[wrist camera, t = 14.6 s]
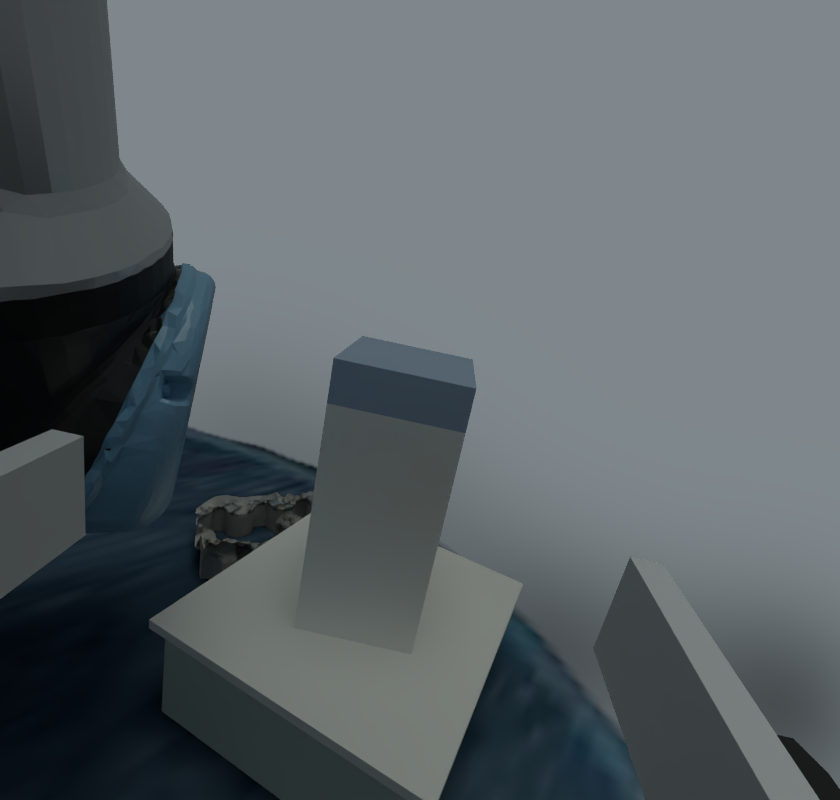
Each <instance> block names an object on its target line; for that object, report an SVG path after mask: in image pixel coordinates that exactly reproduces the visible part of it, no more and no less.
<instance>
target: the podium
mask: <svg viewBox="0 0 840 800" xmlns="http://www.w3.org/2000/svg"><path fill="white" fill-rule="evenodd" d="M310 516H311V513H310V514H308V515H307V516H305V517H304V518H302V519H301V520H299V521H298V522H296V523H295V524H293V525H292V526H290V527H289V528H287V529H286V530H284V531H283V532H281V533H280V534H278V535H277V536H275V537H274V538H272V539H271V540H269V541H268V542H266V543H265V544H263V545H262V546H260V547H258V548H257V549H255V550H254V551H252V552H251V553H249V554H248V555H246V556H245V557H243V558H242V559H240V560H239V561H237V562H236V563H234V564H233V565H231V566H230V567H228V568H227V569H225V570H224V571H222V572H221V573H219V574H218V575H216V576H215V577H213V578H212V579H210V580H208V581H207V582H205V583H204V584H202V585H201V586H199V587H198V588H196V589H195V590H193V591H192V592H190V593H189V594H187V595H186V596H184V597H183V598H181V599H180V600H178V601H177V602H175V603H174V604H172V605H171V606H169V607H168V608H166V609H165V610H163V611H162V612H160V613H158V614H157V615H155V616H154V617H152V618H151V619H149V628H150V629H151V630H153V631H154V632H156V633H157V634H159V635H160V636H162V637H163V638H165V650H164V671H163V693H162V712H163V713H165V714H166V715H168V716H169V717H170V718H172V719H173V720H174V721H176V722H177V723H178V724H180V725H181V726H182V727H184V728H185V729H186V730H188V731H189V732H190V733H192V734H193V735H194V736H196V737H197V738H198V739H200V740H201V741H202V742H204V743H205V744H206V745H208V746H209V747H210V748H212V749H213V750H214V751H216V752H217V753H218V754H220V755H221V756H223V757H224V758H225V759H227V760H228V761H229V762H231V763H232V764H233V765H235V766H236V767H237V768H239V769H240V770H241V771H243V772H244V773H245V774H247V775H248V776H249V777H251V778H252V779H253V780H255V781H256V782H257V783H259V784H260V785H261V786H263V787H264V788H265V789H267V790H268V791H269V792H271V793H272V794H274V795H275V796H276V797H278V798H279V799H280V800H439V799H440V796H441V794H442V791H443V789H444V786H445V784H446V781H447V778H448V776H449V773H450V771H451V768H452V766H453V763H454V761H455V758H456V755H457V753H458V750H459V748H460V745H461V743H462V740H463V738H464V735H465V732H466V730H467V727H468V725H469V722H470V720H471V717H472V715H473V712H474V710H475V707H476V704H477V702H478V699H479V697H480V694H481V692H482V689H483V687H484V684H485V681H486V679H487V676H488V674H489V671H490V669H491V666H492V664H493V661H494V658H495V656H496V653H497V651H498V648H499V646H500V643H501V641H502V638H503V635H504V633H505V630H506V628H507V625H508V623H509V620H510V618H511V615H512V612H513V610H514V607H515V605H516V602H517V599H518V597H519V595H520V592H521V589H522V586H523V584H522V583H520V582H518V581H516V580H513V579H511V578H509V577H507V576H504V575H502V574H500V573H498V572H495V571H493V570H491V569H489V568H486V567H484V566H482V565H479V564H477V563H475V562H473V561H470V560H468V559H466V558H464V557H461V556H459V555H457V554H455V553H452V552H450V551H448V550H446V549H443V548H441V547H439V546H438V548H437V552H436V556H435V560H434V564H433V568H432V572H431V576H430V580H429V584H428V589H427V593H426V597H425V601H424V605H423V609H422V613H421V617H420V621H419V625H418V630H417V634H416V638H415V642H414V646H413V650H412V654H407V653H402V652H398V651H393V650H389V649H385V648H380V647H376V646H371V645H367V644H363V643H358V642H354V641H350V640H345V639H341V638H336V637H332V636H328V635H323V634H319V633H314V632H310V631H306V630H301V629H297V628H294V624H295V618H296V611H297V604H298V597H299V591H300V584H301V577H302V570H303V563H304V557H305V550H306V543H307V536H308V529H309V523H310Z"/></svg>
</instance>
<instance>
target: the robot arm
mask: <svg viewBox="0 0 840 800" xmlns="http://www.w3.org/2000/svg"><path fill="white" fill-rule="evenodd" d="M115 111H116V110H115V99H114V85H113V73H112V60H111V49H110V36H109V23H108V12H107V0H0V599H1V598H2V597H4V596H5V595H6V594H8V593H9V592H10V591H12V590H13V589H14V588H16V587H17V586H18V585H20V584H21V583H22V582H24V581H25V580H26V579H28V578H29V577H30V576H32V575H33V574H34V573H36V572H37V571H38V570H40V569H41V568H42V567H44V566H45V565H46V564H48V563H49V562H50V561H51V560H53V559H54V558H55V557H57V556H58V555H59V554H61V553H62V552H63V551H65V550H66V549H67V548H69V547H70V546H71V545H73V544H74V543H75V542H77V541H78V540H79V539H81V538H82V537H83V536H85V535H86V534H85V533H102V532H120V531H131V530H136V529H139V528H142V527H144V526H146V525H148V524H150V523H152V522H153V521H154V520H156V519H157V518H158V517H159V516H160V515H161V514H162V513H163V512H164V511H165V510H166V508H167V506H168V505H169V503H170V501H171V498H172V495H173V491H174V487H175V482H176V478H177V473H178V469H179V464H180V459H181V455H182V450H183V445H184V440H185V436H186V431H187V426H188V421H189V417H190V412H191V407H192V402H193V397H194V392H195V388H196V382H197V377H198V372H199V367H200V362H201V358H202V354H203V349H204V344H205V339H206V334H207V329H208V324H209V319H210V314H211V309H212V303H213V298H214V293H215V282H214V280H213V279H212V278H211V277H210V276H209V275H208V274H206V273H203V272H200V271H197V270H196V269H195V268H194V267H193V266H190V264H184V263H183V264H182V265H179V266H174V263H173V231H172V225H171V219H170V216H169V213H168V212H167V210H166V209H165V208H164V206H163V205H162V204H161V203H160V202H159V201H158V200H157V199H156V198H155V197H154V196H153V195H152V194H151V193H149V192H148V190H147V189H145V188H144V187H143V186H142V185H141V184H140V183H139V182H138V181H137V180H136V179H135V178H134V177H133V176H132V175H131V174H130V173H129V172H128V171H127V170H126V168H125V167H124V166H123V164H122V162H121V161H120V158H119V148H118V135H117V123H116V112H115ZM594 651H595V654H596V657H597V660H598V663H599V666H600V669H601V672H602V675H603V677H604V680H605V683H606V686H607V689H608V692H609V694H610V698H611V701H612V703H613V706H614V709H615V712H616V715H617V718H618V721H619V724H620V726H621V729H622V732H623V735H624V738H625V741H626V744H627V747H628V750H629V752H630V755H631V758H632V761H633V764H634V767H635V770H636V773H637V776H638V778H639V781H640V784H641V787H642V790H643V793H644V796H645V799H646V800H840V789H839V788H838V786H837V785H836V783H835V782H834V781H833V779H832V778H831V776H830V775H829V774H828V773H827V772H826V771H825V770H824V769H823V768H822V767H821V766H820V765H819V764H818V763H817V762H816V761H815V760H814V759H813V758H812V757H811V756H810V755H809V754H808V753H807V752H806V751H805V750H804V749H803V748H802V747H801V746H800V745H799V744H798V743H797V742H796V741H795V740H794V739H793V738H789V737H783V736H780V735H776V733H775V732H774V730H773V729H772V728H771V726H770V724H769V723H768V721H767V720H766V718H765V717H764V715H763V714H762V712H761V711H760V710H759V708H758V706H757V705H756V703H755V702H754V700H753V699H752V697H751V696H750V694H749V693H748V691H747V690H746V688H745V687H744V685H743V684H742V682H741V681H740V679H739V678H738V676H737V675H736V673H735V672H734V670H733V669H732V667H731V666H730V664H729V663H728V661H727V660H726V658H725V657H724V655H723V654H722V652H721V651H720V649H719V648H718V646H717V645H716V643H715V642H714V640H713V639H712V637H711V636H710V634H709V633H708V631H707V630H706V628H705V627H704V625H703V624H702V622H701V621H700V619H699V618H698V616H697V615H696V613H695V612H694V610H693V609H692V607H691V606H690V604H689V603H688V601H687V600H686V598H685V597H684V595H683V594H682V592H681V591H680V589H679V588H678V587H677V585H676V583H675V582H674V580H673V579H672V577H671V576H670V574H669V573H668V571H667V570H666V568H665V567H664V565H663V564H660V563H656V562H651V561H647V560H642V559H638V558H634V557H630V559H629V561H628V564H627V566H626V569H625V572H624V574H623V576H622V579H621V581H620V584H619V586H618V589H617V591H616V594H615V596H614V599H613V601H612V604H611V606H610V608H609V611H608V614H607V616H606V618H605V621H604V623H603V626H602V628H601V631H600V633H599V636H598V639H597V641H596V643H595V646H594Z"/></svg>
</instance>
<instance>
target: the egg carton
mask: <svg viewBox="0 0 840 800" xmlns="http://www.w3.org/2000/svg"><path fill="white" fill-rule="evenodd" d="M313 495H314V491H311V492H307V493H302V494H300V495H298V496H296V495H291V494H287V495H286V496H285V497H281V496H280V495H279V494H278V493H273V494H270V495H266V496H251V497H247V498H246V497H235V496H228V495H222V496H216V497H214V498H212V499H210V500H208V501H207V502H205V503H204V504H202V505H200V506H199V507H198V508H197V509H196V514H197V518H196V525H197V529H196V535H195V547H196V549H197V550H201V554H200V570H199V573H200V578H205V579H212V578H213V577H215V576H216V575H218V574H219V573H221V572H222V571H224V570H225V569H227V568H228V567H230V566H231V565H233V564H234V563H236V562H237V561H239V560H240V559H242V558H243V557H245V556H246V555H248V554H249V553H251V552H252V551H254V550H255V549H257V548H258V547H260V546H262V545H263V544H265V543H266V542H268V541H269V540H268V541H265V542H263V543H261V544H260V543H254V542H251V541H247V542H241V541H237V540H235V539H229V538H226V539H223V540H221V541H220V540H219V539H217V538H216V535H215V533H214V532H213V531H220V530H223V531H224V532H225V534H227V535H229V536H233V537H242V536H245V535H248V534H250V533H251V532H252V529H253V527H257V526H266V527H267V528H268V529H269V530H271V531H274V532H275V536H277V535H278V534H280V533H281V532H283V531H284V530H286V529H287V528H289V527H290V526H292V525H293V524H295V523H296V522H298V521H299V520H301V519H302V518H304V517H305V516H307V515H308V514H310V513H311V509H312V502H313ZM275 536H274V537H275Z"/></svg>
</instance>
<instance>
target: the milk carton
mask: <svg viewBox="0 0 840 800" xmlns="http://www.w3.org/2000/svg"><path fill="white" fill-rule="evenodd" d="M475 391H476V382H475V375H474V367H473V360H472V359H468V358H463V357H458V356H454V355H449V354H444V353H439V352H435V351H430V350H426V349H421V348H416V347H411V346H406V345H402V344H397V343H393V342H388V341H383V340H378V339H373V338H368V337H364V336H362V337H361V338H360V339H358V340H357V341H356V342H354V343H353V344H352V345H350V346H349V347H348V348H346V349H345V350H344V351H342V352H341V353H340V354H338V355H337V356H336V357H334V359H333V366H332V373H331V380H330V387H329V394H328V400H327V407H326V414H325V421H324V427H323V434H322V441H321V448H320V455H319V462H318V468H317V475H316V482H315V489H314V495H313V502H312V509H311V516H310V523H309V529H308V536H307V543H306V550H305V557H304V563H303V570H302V577H301V584H300V591H299V597H298V604H297V611H296V618H295V624H294V628H297V629H301V630H306V631H310V632H314V633H319V634H323V635H328V636H332V637H336V638H341V639H345V640H350V641H354V642H358V643H363V644H367V645H371V646H376V647H380V648H385V649H389V650H393V651H398V652H402V653H407V654H412V650H413V646H414V642H415V638H416V634H417V630H418V625H419V621H420V617H421V613H422V609H423V605H424V601H425V597H426V593H427V589H428V584H429V580H430V576H431V572H432V568H433V564H434V560H435V556H436V552H437V548H438V543H439V539H440V535H441V531H442V527H443V523H444V519H445V515H446V510H447V507H448V502H449V498H450V494H451V490H452V486H453V482H454V478H455V473H456V470H457V465H458V461H459V457H460V453H461V449H462V445H463V441H464V437H465V433H466V429H467V425H468V420H469V416H470V412H471V408H472V403H473V399H474V396H475Z"/></svg>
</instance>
